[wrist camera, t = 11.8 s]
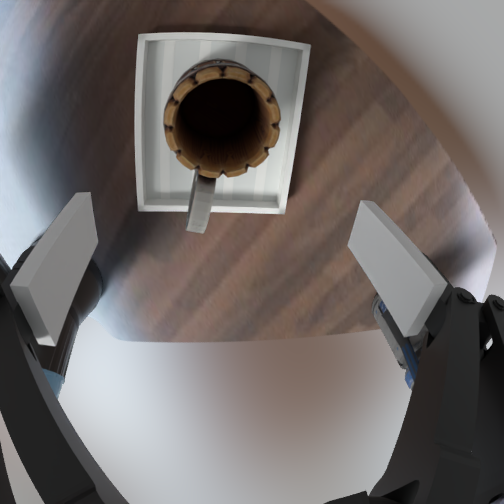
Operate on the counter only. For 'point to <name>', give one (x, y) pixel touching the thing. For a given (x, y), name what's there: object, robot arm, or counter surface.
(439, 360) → the robot arm
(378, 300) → the grey blue grenade canister
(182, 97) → the mug
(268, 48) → the white tray
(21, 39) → the counter surface
